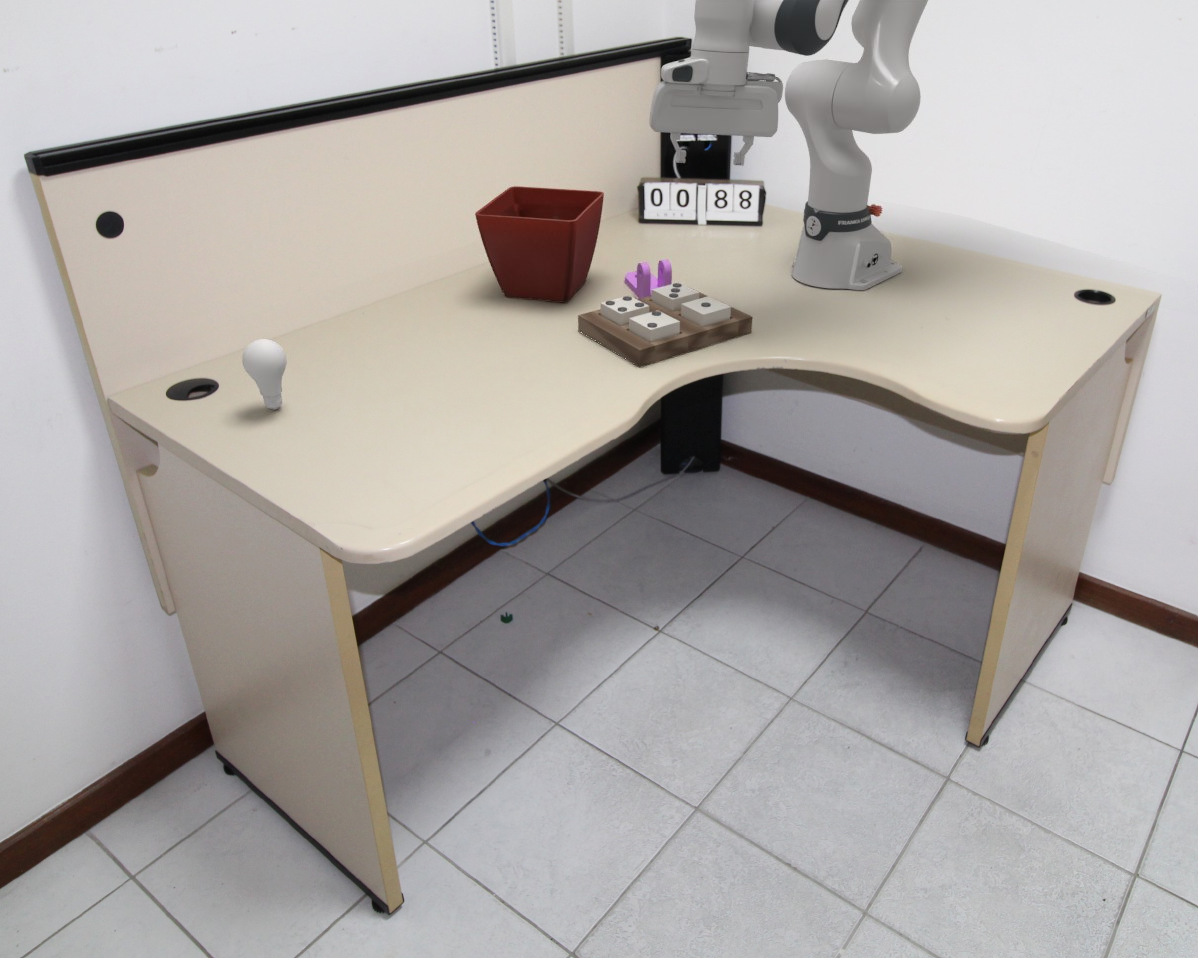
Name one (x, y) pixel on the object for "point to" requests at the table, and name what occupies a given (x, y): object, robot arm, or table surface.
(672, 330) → the button two dots
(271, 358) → the lightbulb
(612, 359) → the table surface
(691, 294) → the button three dots
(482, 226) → the plant pot
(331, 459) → the table surface
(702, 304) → the button one dot
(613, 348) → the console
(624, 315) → the button four dots
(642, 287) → the bracket
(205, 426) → the table surface
